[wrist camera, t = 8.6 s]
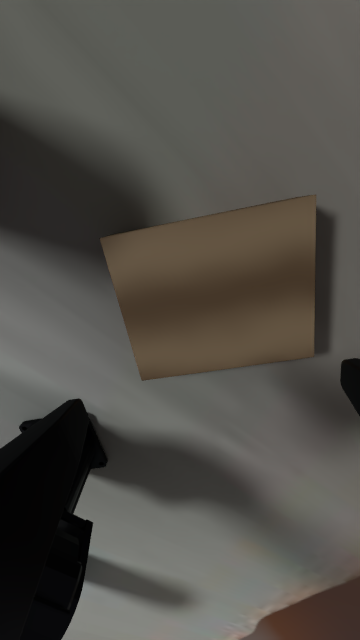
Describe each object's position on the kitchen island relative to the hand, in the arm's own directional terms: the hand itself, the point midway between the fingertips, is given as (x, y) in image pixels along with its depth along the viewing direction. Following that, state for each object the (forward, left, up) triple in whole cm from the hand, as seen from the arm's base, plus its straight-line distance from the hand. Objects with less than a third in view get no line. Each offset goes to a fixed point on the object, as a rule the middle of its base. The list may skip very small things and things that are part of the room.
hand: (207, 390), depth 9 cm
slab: (0, -1, -11) cm, 11 cm away
